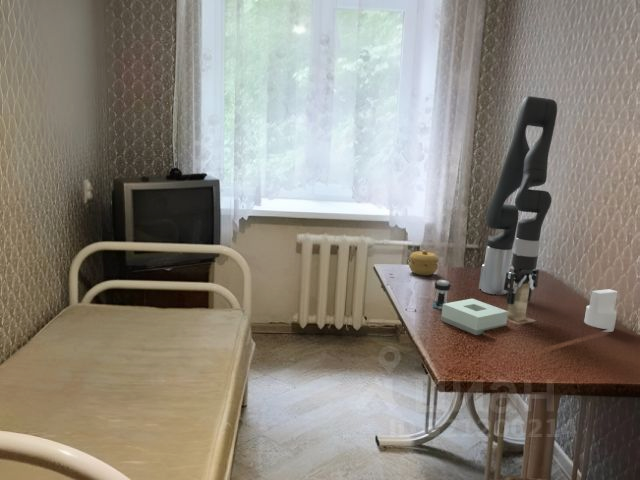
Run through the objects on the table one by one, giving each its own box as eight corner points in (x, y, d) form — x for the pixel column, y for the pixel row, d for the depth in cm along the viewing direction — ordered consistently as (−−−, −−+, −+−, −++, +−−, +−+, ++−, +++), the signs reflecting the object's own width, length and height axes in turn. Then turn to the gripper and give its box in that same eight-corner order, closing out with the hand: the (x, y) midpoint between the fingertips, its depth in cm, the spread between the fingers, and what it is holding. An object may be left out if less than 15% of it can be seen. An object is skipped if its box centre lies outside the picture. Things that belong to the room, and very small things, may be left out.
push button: (452, 309, 201) (455, 281, 199) (451, 314, 196) (455, 285, 194) (432, 306, 202) (435, 278, 200) (430, 311, 197) (434, 282, 195)
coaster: (495, 318, 195) (495, 315, 194) (512, 315, 200) (512, 312, 200) (518, 327, 188) (519, 324, 187) (535, 323, 193) (536, 320, 193)
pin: (506, 317, 194) (511, 281, 192) (514, 315, 196) (519, 280, 194) (517, 321, 191) (522, 284, 188) (524, 319, 193) (530, 283, 191)
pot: (430, 279, 238) (433, 255, 236) (403, 273, 244) (405, 249, 242) (440, 274, 248) (443, 250, 246) (414, 268, 254) (416, 245, 252)
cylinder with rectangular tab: (601, 333, 188) (607, 296, 186) (577, 323, 196) (583, 288, 194) (620, 330, 193) (626, 294, 190) (596, 321, 200) (602, 286, 198)
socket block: (440, 320, 189) (442, 303, 188) (470, 314, 197) (472, 298, 196) (476, 335, 178) (478, 317, 177) (505, 328, 186) (508, 311, 185)
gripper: (528, 248, 196) (522, 296, 199) (501, 251, 188) (494, 301, 191) (549, 253, 190) (541, 302, 194) (522, 257, 182) (514, 308, 185)
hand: (518, 302), depth 192 cm, fingers open, 8 cm apart
